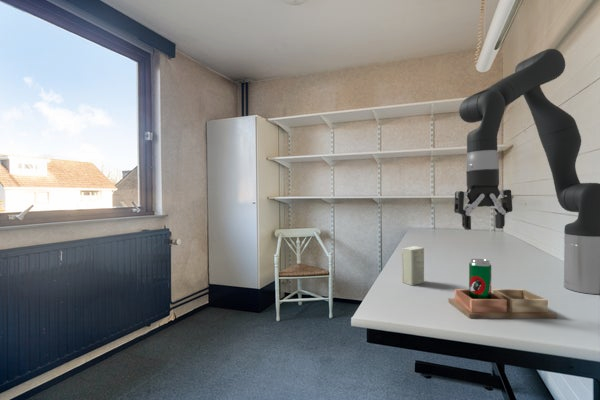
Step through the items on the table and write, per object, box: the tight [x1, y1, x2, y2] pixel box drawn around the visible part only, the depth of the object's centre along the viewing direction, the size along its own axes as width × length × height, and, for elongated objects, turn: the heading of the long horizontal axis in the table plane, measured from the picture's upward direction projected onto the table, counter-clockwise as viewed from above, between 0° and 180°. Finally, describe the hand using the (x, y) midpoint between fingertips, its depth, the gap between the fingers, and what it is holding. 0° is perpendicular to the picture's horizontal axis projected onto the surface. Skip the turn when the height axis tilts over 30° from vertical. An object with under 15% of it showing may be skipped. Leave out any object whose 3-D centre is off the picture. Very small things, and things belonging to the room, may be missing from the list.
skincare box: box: [401, 245, 425, 286], centre depth 104 cm, size 6×4×12 cm
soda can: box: [468, 258, 492, 299], centre depth 80 cm, size 5×5×12 cm
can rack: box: [447, 288, 557, 319], centre depth 80 cm, size 21×11×4 cm, turn 89°
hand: (483, 228), depth 82 cm, fingers open, 8 cm apart
